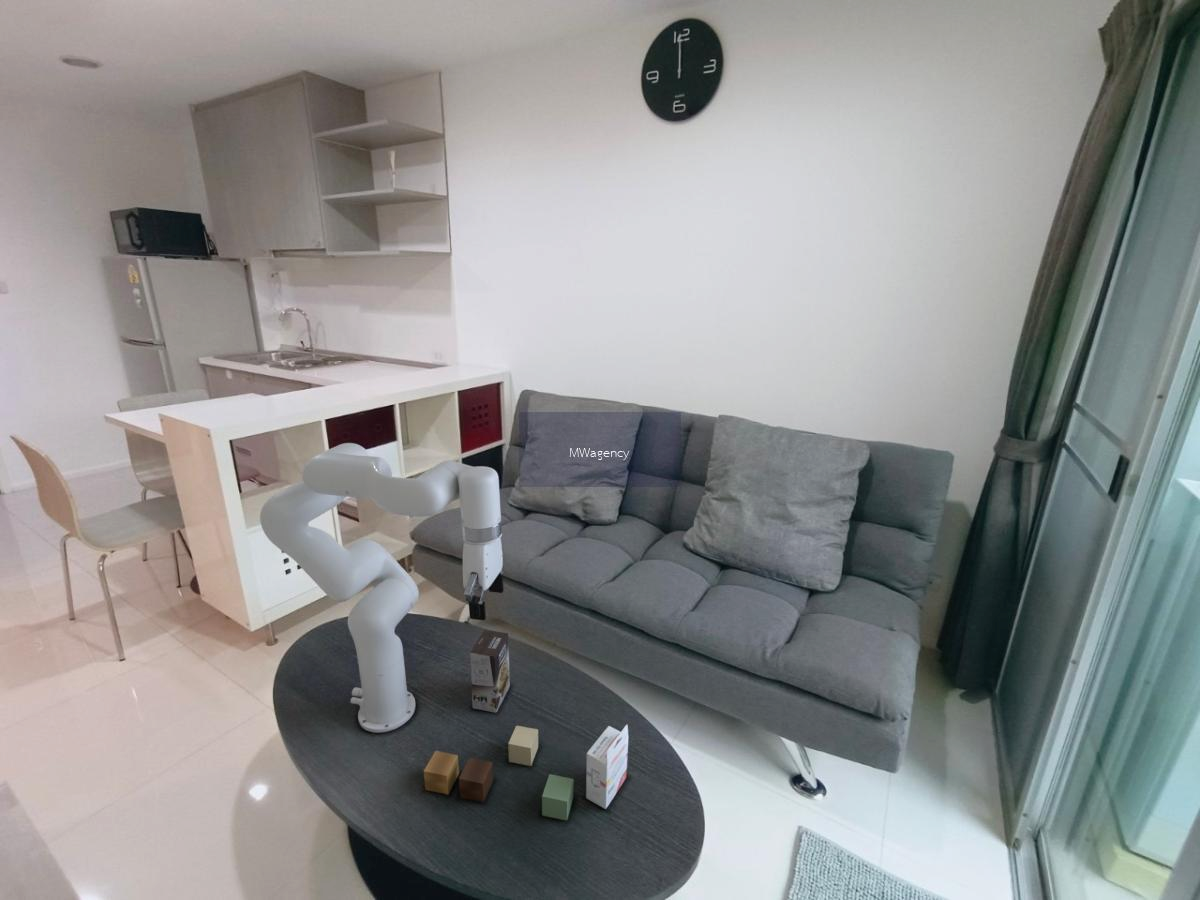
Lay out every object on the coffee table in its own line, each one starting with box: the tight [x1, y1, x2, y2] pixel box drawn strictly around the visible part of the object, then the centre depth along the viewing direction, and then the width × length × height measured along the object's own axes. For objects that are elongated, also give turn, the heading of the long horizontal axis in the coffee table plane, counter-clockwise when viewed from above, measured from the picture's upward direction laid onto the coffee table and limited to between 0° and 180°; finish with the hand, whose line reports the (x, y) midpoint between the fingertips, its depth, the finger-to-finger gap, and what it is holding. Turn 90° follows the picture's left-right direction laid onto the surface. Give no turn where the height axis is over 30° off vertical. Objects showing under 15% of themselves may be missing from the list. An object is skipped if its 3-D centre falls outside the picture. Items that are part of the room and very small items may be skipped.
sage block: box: [541, 773, 575, 822], centre depth 107 cm, size 5×5×5 cm
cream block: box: [507, 724, 539, 767], centre depth 119 cm, size 5×5×5 cm
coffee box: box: [469, 629, 511, 714], centre depth 132 cm, size 9×6×16 cm
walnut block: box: [458, 757, 494, 803], centre depth 110 cm, size 5×5×5 cm
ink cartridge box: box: [585, 724, 630, 810], centre depth 110 cm, size 9×5×15 cm, turn 148°
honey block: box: [423, 750, 460, 796], centre depth 112 cm, size 5×5×5 cm
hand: (487, 604), depth 113 cm, fingers open, 9 cm apart
